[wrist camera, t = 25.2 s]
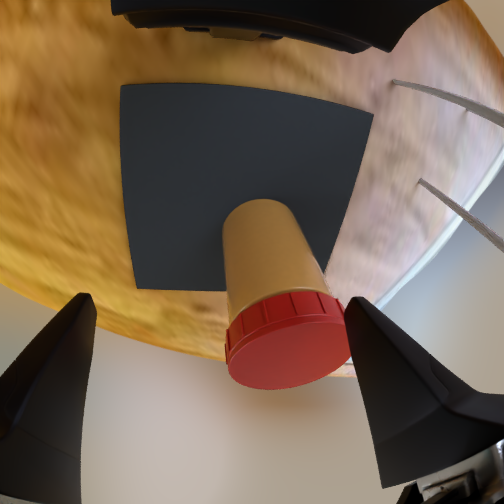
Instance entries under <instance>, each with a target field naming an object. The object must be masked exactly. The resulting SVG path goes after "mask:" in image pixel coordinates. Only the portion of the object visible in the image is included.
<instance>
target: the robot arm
mask: <svg viewBox="0 0 504 504" xmlns="http://www.w3.org/2000/svg"><path fill="white" fill-rule="evenodd" d="M447 1H449V0H111V10H112V14H113V15H114V16H116V15H124V17H125V19H126V20H127V21H128V22H129V23H130V24H132V25H133V26H134V27H135V28H145V27H146V28H148V29H150V28H167V27H183V28H184V30H186V31H189V32H210V35H211V36H212V37H214V38H227V39H238V40H247V41H253V40H254V39H256V38H257V37H262V38H268V39H274V40H279V39H281V38H283V37H288V38H292V39H297V40H301V41H305V42H309V43H313V44H317V45H321V46H324V47H328V48H331V49H335V50H338V51H345V52H348V53H351V54H355V53H359V52H363V51H365V50H366V49H368V48H370V47H372V46H373V47H376V48H378V49H380V50H383V51H385V52H387V53H389V52H391V51H392V50H393V48H394V47H395V45H396V44H397V43H398V41H399V40H400V38H401V37H402V35H403V34H404V32H405V31H406V30H407V29H408V28H409V27H410V26H411V25H412V24H413V23H414V22H415V21H416V20H417V19H418V18H419V17H420V16H422V15H423V14H424V13H426V12H428V11H429V10H431V9H433V8H434V7H436V6H438V5H440V4H442V3H445V2H447ZM276 35H277V36H276ZM343 316H344V322H345V328H346V333H347V338H348V343H349V349H350V353H351V357H352V361H353V364H354V368H355V371H356V375H357V379H358V382H359V386H360V390H361V394H362V397H363V401H364V405H365V409H366V413H367V418H368V421H369V426H370V430H371V435H372V439H373V444H374V449H375V454H376V459H377V464H378V469H379V474H380V480H381V485H382V488H383V489H384V488H388V487H392V486H396V485H399V484H402V483H406V482H410V481H412V480H416V481H415V482H413V483H411V484H409V485H407V486H405V487H404V489H403V492H402V494H401V496H400V498H399V500H398V502H397V503H396V504H504V394H488V393H482V392H478V391H476V390H475V389H473V388H472V387H470V386H469V385H468V384H466V383H465V382H464V381H463V380H461V379H460V378H458V377H457V376H456V375H455V374H453V373H452V372H451V371H450V370H448V369H447V368H446V367H445V366H443V365H442V364H441V363H440V362H439V361H438V360H436V359H435V358H434V357H433V356H432V355H431V354H429V353H428V352H427V351H426V350H425V349H424V348H423V347H422V346H421V345H419V344H418V343H417V342H416V341H415V340H414V339H412V338H411V337H410V336H409V335H408V334H407V333H406V332H404V331H403V330H402V329H401V328H400V327H399V326H397V325H396V324H395V323H394V322H393V321H392V320H390V319H389V318H388V317H387V316H386V315H384V314H383V313H382V312H381V311H380V310H378V309H377V308H376V307H375V306H374V305H372V304H371V303H370V302H369V301H368V300H366V299H365V298H364V297H361V296H359V297H352V298H351V300H350V301H349V303H348V305H347V307H346V309H345V311H344V315H343ZM96 319H97V310H96V307H95V305H94V302H93V299H92V297H91V295H90V294H89V293H78V294H77V295H76V296H75V297H73V298H72V299H71V300H70V301H69V302H68V303H67V304H66V305H65V306H64V307H63V308H62V309H61V310H60V311H59V312H58V313H57V314H56V316H55V317H54V318H53V319H51V321H50V322H49V323H48V324H47V325H46V326H45V327H44V328H43V329H42V330H41V331H40V332H39V333H38V334H37V335H36V336H35V338H34V339H33V340H32V341H31V342H30V343H29V344H28V345H27V346H26V348H25V349H24V350H23V351H22V352H21V353H20V354H19V356H18V357H17V358H16V361H15V360H14V362H13V363H12V364H11V365H10V366H9V367H8V368H7V370H6V371H5V372H4V373H3V374H2V375H1V377H0V504H81V471H80V470H81V461H80V460H81V440H82V425H83V416H84V406H85V399H86V391H87V385H88V378H89V372H90V367H91V361H92V355H93V345H94V334H95V327H96Z"/></svg>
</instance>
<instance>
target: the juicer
mask: <svg viewBox="0 0 504 504" xmlns="http://www.w3.org/2000/svg"><path fill="white" fill-rule="evenodd" d="M393 82H394V83H395V84H397V85H401V86H404V87H408V88H412V89H416V90H419V91H422V92H425V93H428V94H431V95H434V96H437V97H440V98H443V99H445V100H448V101H451V102H453V103H456V104H458V105H460V106H463V107H465V108H467V109H466V110H468V111H470V112H472V113H475V114H477V115H479V116H481V117H483V118H486V119H488V120H490V121H492V122H494V123H496V124H497V125H499V126H501V127H503V128H504V114H503V113H501V112H499V111H497V110H495V109H493V108H490V107H488V106H486V105H483V104H481V103H479V102H476V101H473V100H471V99H468V98H465V97H462V96H459V95H456V94H453V93H450V92H447V91H443V90H440V89H436V88H432V87H428V86H424V85H419V84H415V83H410V82H405V81H399V80H393ZM419 183H420V184H421V185H422V186H424V187H425V188H426V189H428V190H429V191H430V192H431V193H433V194H434V195H435V196H436V197H438V198H439V199H440V200H441V201H443V202H444V203H445V204H446V205H447V206H449V207H450V208H451V209H452V210H454V211H455V212H456V213H457V214H458V215H460V216H461V217H462V218H463V219H464V220H466V221H467V222H468V223H469V224H470V225H472V226H473V227H474V228H475V229H476V230H478V231H479V232H480V233H481V234H482V235H484V236H485V237H486V238H487V239H488V240H489V241H491V242H492V243H493V244H494V245H495V246H497V248H499V249H500V250H501V251H502V252H504V239H503V238H502V237H501V236H499V235H498V234H497V233H496V232H494V231H493V230H492V229H490V228H489V227H488V226H486V225H485V224H484V223H483V222H481V221H480V220H478V219H477V218H476V217H475V216H473V215H472V214H471V213H469V212H468V211H467V210H465V209H464V208H463V207H461V206H460V205H458V204H457V203H456V202H454V201H453V200H452V199H450V198H449V197H447V196H446V195H445V194H443V193H442V192H440V191H439V190H438V189H436V188H435V187H433V186H432V185H430V184H429V183H427V182H426V181H425V180H423V179H422V178H421V179H420V180H419Z"/></svg>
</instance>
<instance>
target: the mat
mask: <svg viewBox="0 0 504 504" xmlns="http://www.w3.org/2000/svg"><path fill="white" fill-rule="evenodd" d="M373 116H374V115H373V114H371V113H368V112H365V111H361V110H358V109H355V108H351V107H348V106H344V105H340V104H336V103H333V102H329V101H324V100H320V99H316V98H311V97H306V96H301V95H296V94H291V93H285V92H279V91H273V90H266V89H259V88H251V87H242V86H232V85H219V84H201V83H152V84H134V85H122V86H121V90H120V157H121V175H122V188H123V199H124V209H125V218H126V226H127V233H128V240H129V247H130V253H131V259H132V265H133V270H134V276H135V281H136V286H137V289H159V290H187V291H226V283H225V270H224V257H223V244H222V229H223V225H224V222H225V220H226V218H227V217H228V216H229V214H230V213H231V212H232V211H233V210H234V209H235V208H237V207H238V206H240V205H241V204H243V203H245V202H248V201H251V200H255V199H271V200H275V201H278V202H280V203H282V204H284V205H285V206H287V207H288V208H289V209H290V210H291V211H292V213H293V214H294V216H295V218H296V220H297V222H298V224H299V226H300V228H301V229H302V231H303V233H304V235H305V237H306V240H307V242H308V244H309V246H310V248H311V250H312V252H313V254H314V256H315V258H316V260H317V262H318V264H319V266H320V268H321V270H322V273H323V274H324V271H325V269H326V266H327V263H328V261H329V258H330V255H331V253H332V250H333V247H334V245H335V242H336V239H337V236H338V233H339V230H340V228H341V225H342V222H343V219H344V216H345V213H346V210H347V207H348V204H349V201H350V198H351V195H352V191H353V188H354V185H355V182H356V178H357V175H358V172H359V168H360V165H361V161H362V158H363V154H364V151H365V147H366V144H367V140H368V136H369V132H370V128H371V124H372V120H373Z"/></svg>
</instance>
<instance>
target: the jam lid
mask: <svg viewBox="0 0 504 504" xmlns="http://www.w3.org/2000/svg"><path fill="white" fill-rule="evenodd" d="M344 311H345V308H344V307H343V305H342V304H341V303H340V302H339V300H338V299H335V298H334V297H332V296H330V295H327V294H324V293H320V292H313V291H299V292H289V293H285V294H280V295H276V296H273V297H270V298H267V299H265V300H262V301H260V302H258V303H256V304H254V305H252V306H250V307H249V308H247V309H246V310H244V311H243V312H242V313H240V314H239V315H238V316H237V317H236V318H235V319H234V320H233V322H232V323H231V325H230V326H229V328H228V329H226V344H225V355H226V364H227V365H228V371H229V374H230V375H231V377H232V378H233V379H234V380H235V381H236V382H238V383H239V384H242V385H244V386H247V387H251V388H255V389H265V390H275V389H285V388H292V387H296V386H300V385H304V384H307V383H310V382H313V381H315V380H317V379H320V378H322V377H324V376H326V375H328V374H330V373H332V372H333V371H335V370H336V369H338V368H339V367H340V366H342V365H343V364H344V363H345V362H346V361H347V360H348V359H349V358H350V357H351V353H350V349H349V343H348V338H347V333H346V328H345V322H344V316H343V315H344Z"/></svg>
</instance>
